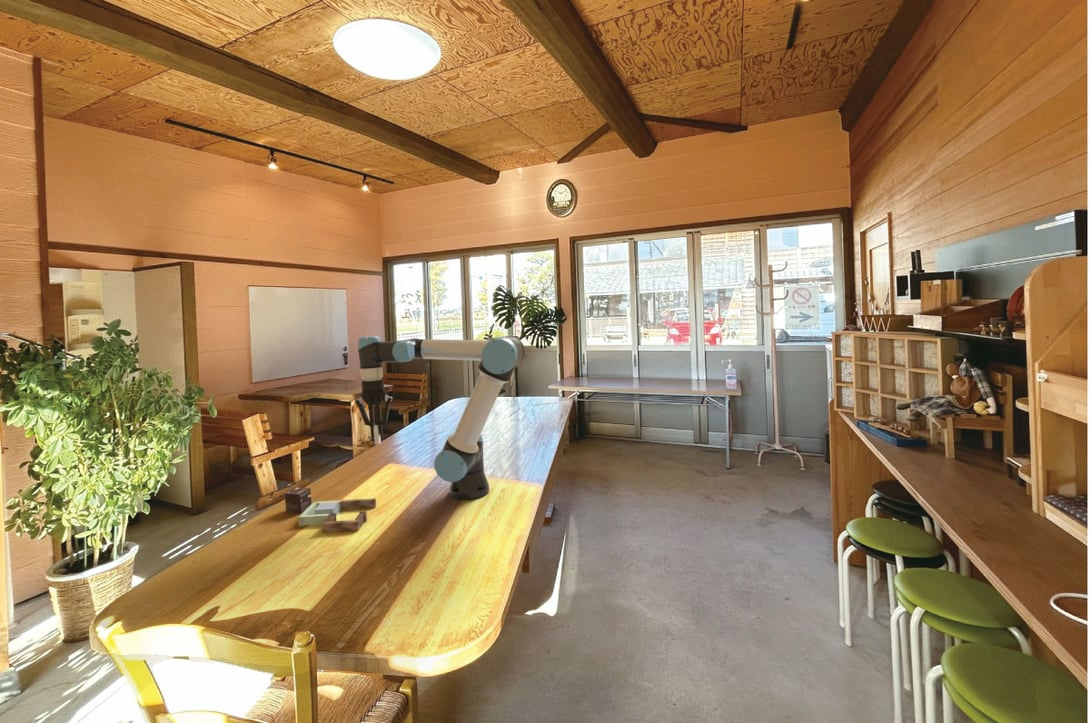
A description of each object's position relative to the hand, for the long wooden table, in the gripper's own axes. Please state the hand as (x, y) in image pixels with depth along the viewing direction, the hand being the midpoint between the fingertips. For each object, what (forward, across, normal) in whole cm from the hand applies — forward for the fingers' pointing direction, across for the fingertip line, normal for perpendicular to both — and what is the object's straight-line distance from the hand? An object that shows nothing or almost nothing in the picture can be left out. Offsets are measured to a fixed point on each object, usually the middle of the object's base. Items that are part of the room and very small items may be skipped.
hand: (377, 443), depth 170 cm
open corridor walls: (+22, +8, +12) cm, 27 cm away
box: (+22, +29, +1) cm, 36 cm away
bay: (+22, +18, +9) cm, 30 cm away
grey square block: (+22, +17, +9) cm, 29 cm away
